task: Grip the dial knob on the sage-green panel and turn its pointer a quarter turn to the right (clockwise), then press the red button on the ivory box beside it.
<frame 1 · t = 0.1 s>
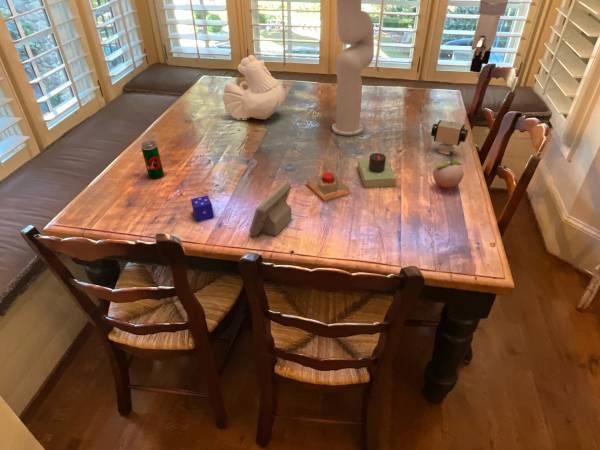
hand: (478, 67, 138), 31 cm above the table, tool pointing down, fingers open, 9 cm apart
soda can: (156, 176, 149), on the table
die: (203, 215, 130), on the table
dial panel: (375, 176, 146), on the table
dial knob: (377, 162, 142), point 5 cm above the table, hinge at 0.0°
button: (328, 177, 137), point 4 cm above the table, slide at 0.1 cm
pneumatic valve: (445, 152, 159), on the table
decorative rooster: (256, 117, 188), on the table
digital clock: (271, 224, 125), on the table
decorative fruit: (445, 188, 139), on the table
button box: (327, 189, 140), on the table
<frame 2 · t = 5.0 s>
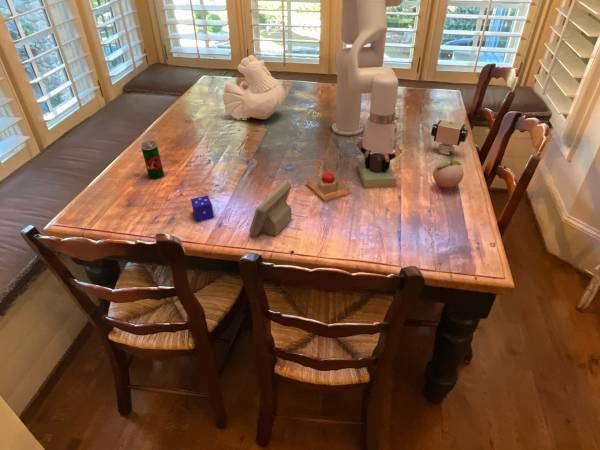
hand: (376, 168, 144), 3 cm above the table, tool pointing down, fingers closed on dial knob, 5 cm apart
dial knob: (377, 162, 142), point 5 cm above the table, hinge at 0.0°, touching gripper
everything else where it was.
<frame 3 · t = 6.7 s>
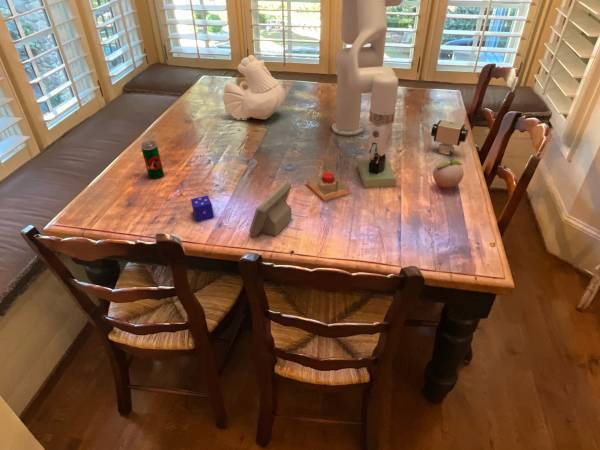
hand: (376, 168, 144), 3 cm above the table, tool pointing down, fingers closed on dial knob, 5 cm apart
dial knob: (377, 162, 142), point 5 cm above the table, hinge at -90.2°, touching gripper
everything else where it was.
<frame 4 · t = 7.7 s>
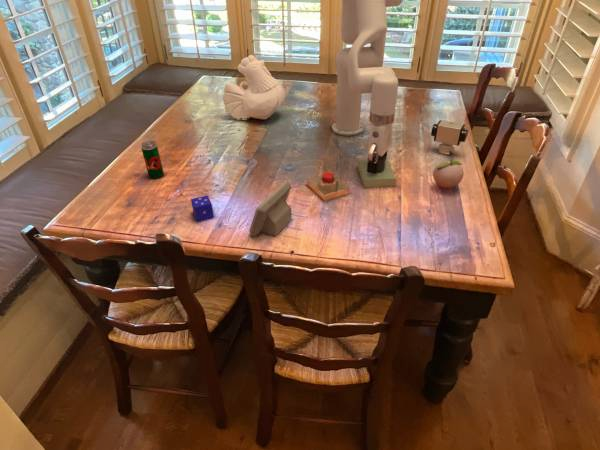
hand: (376, 165, 143), 4 cm above the table, tool pointing down, fingers open, 9 cm apart
dial knob: (377, 162, 142), point 5 cm above the table, hinge at -90.8°
everything else where it was.
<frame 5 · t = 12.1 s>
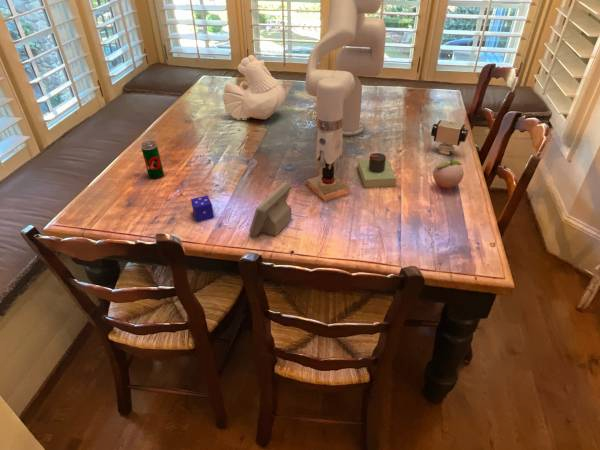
hand: (328, 177, 137), 4 cm above the table, tool pointing down, fingers closed
button: (328, 179, 138), point 4 cm above the table, slide at -0.8 cm, touching gripper
everything else where it was.
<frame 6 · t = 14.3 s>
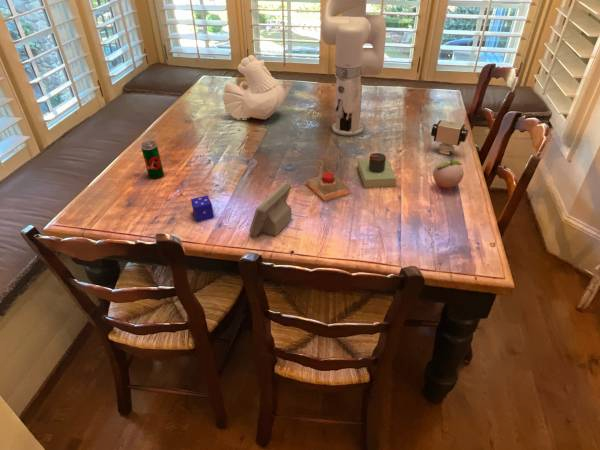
hand: (345, 129, 136), 17 cm above the table, tool pointing down, fingers closed
button: (328, 177, 137), point 4 cm above the table, slide at 0.1 cm
everything else where it was.
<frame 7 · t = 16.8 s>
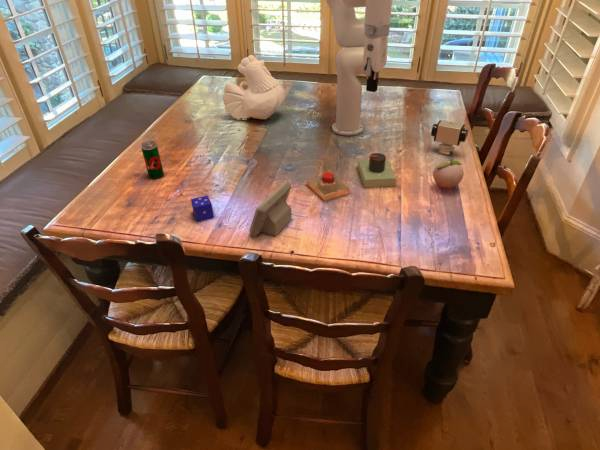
hand: (371, 90, 140), 25 cm above the table, tool pointing down, fingers closed
nothing on the table moved.
at the end: dial knob at -91° (first picture: +0°); button pushed in 1.1 cm at the most during the clip, back to where it started at the end; button slide at 0.1 cm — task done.
